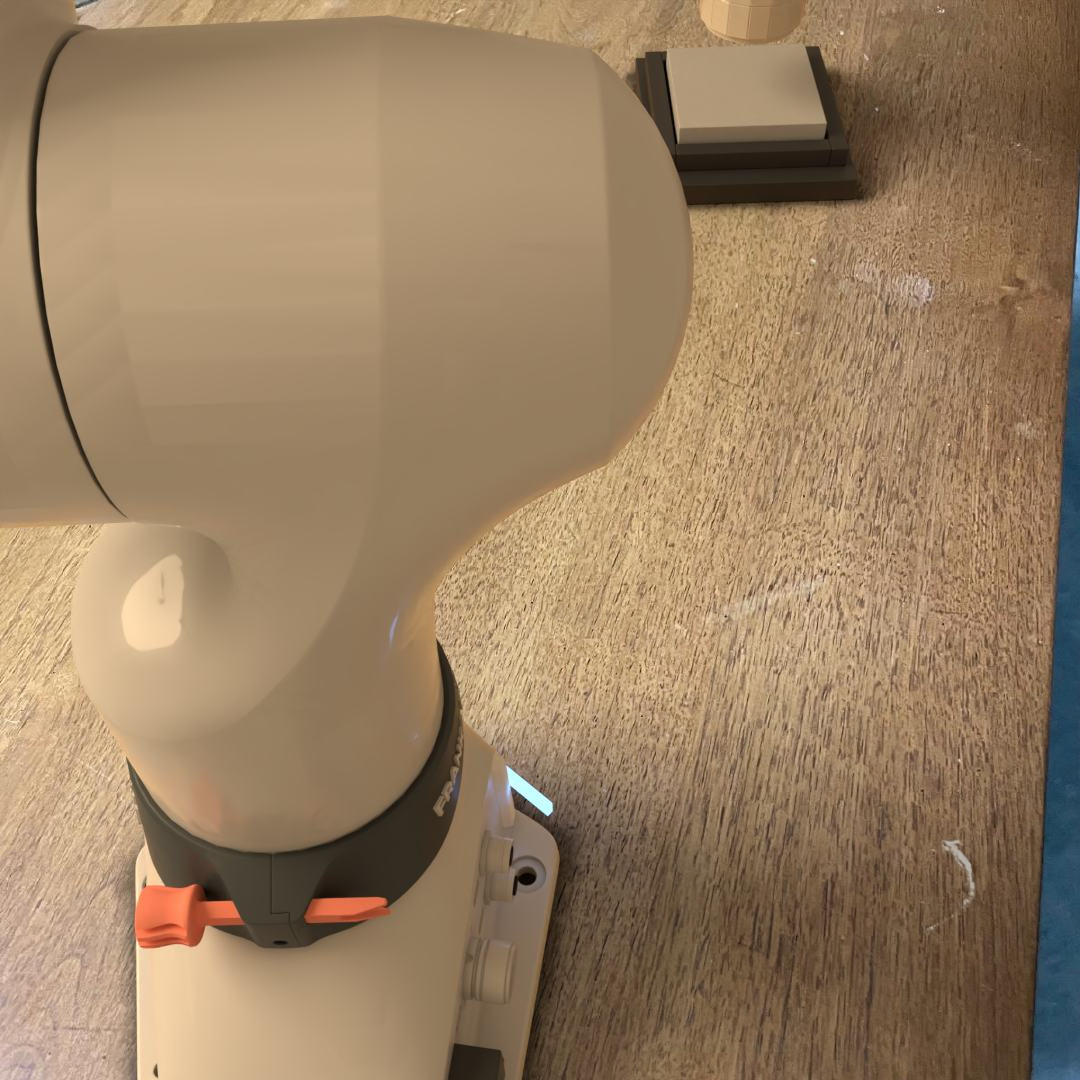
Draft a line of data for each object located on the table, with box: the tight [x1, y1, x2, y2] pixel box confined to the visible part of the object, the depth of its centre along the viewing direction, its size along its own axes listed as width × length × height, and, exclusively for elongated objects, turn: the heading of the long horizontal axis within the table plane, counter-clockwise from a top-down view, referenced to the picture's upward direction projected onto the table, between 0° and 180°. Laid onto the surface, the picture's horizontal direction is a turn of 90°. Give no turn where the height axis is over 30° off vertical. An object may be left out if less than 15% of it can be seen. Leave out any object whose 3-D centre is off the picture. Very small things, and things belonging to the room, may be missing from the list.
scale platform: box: [666, 43, 827, 144], centre depth 85 cm, size 10×10×2 cm
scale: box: [634, 45, 859, 205], centre depth 87 cm, size 16×14×3 cm
